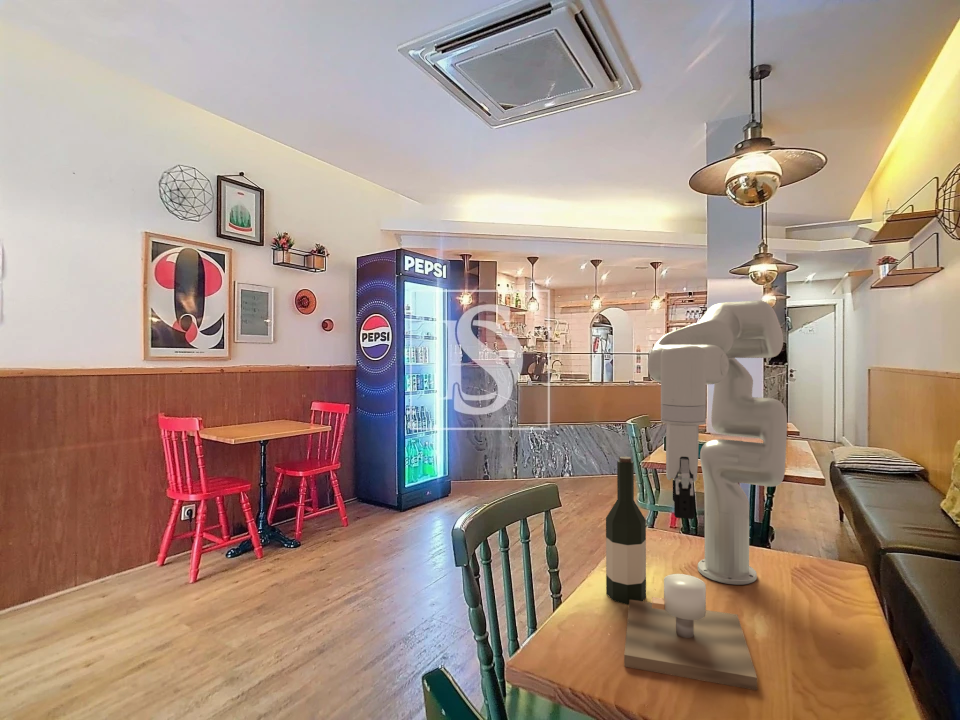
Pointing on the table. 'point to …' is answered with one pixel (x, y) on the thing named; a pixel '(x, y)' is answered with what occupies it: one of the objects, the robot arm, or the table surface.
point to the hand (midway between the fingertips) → (683, 509)
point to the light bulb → (683, 597)
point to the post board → (688, 646)
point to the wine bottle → (625, 541)
